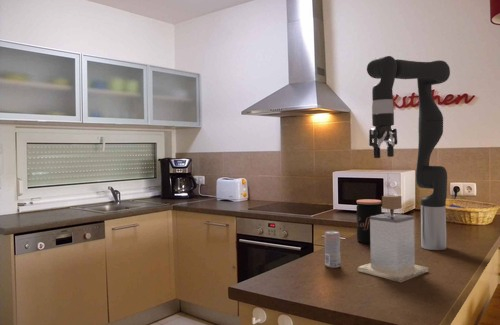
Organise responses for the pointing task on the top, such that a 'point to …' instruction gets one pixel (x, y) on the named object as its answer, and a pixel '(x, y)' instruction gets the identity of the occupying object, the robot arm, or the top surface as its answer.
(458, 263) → the top surface
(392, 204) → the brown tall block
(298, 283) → the top surface
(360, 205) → the coffee jar
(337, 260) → the energy drink
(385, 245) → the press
